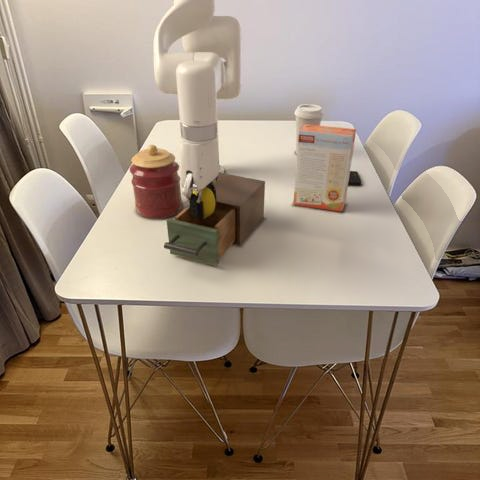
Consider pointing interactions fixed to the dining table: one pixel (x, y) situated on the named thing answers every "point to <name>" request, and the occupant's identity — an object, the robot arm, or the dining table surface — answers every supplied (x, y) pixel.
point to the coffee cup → (307, 117)
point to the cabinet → (242, 201)
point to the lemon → (207, 201)
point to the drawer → (202, 234)
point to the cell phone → (354, 178)
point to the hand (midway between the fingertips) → (203, 210)
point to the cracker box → (323, 166)
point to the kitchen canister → (156, 183)
